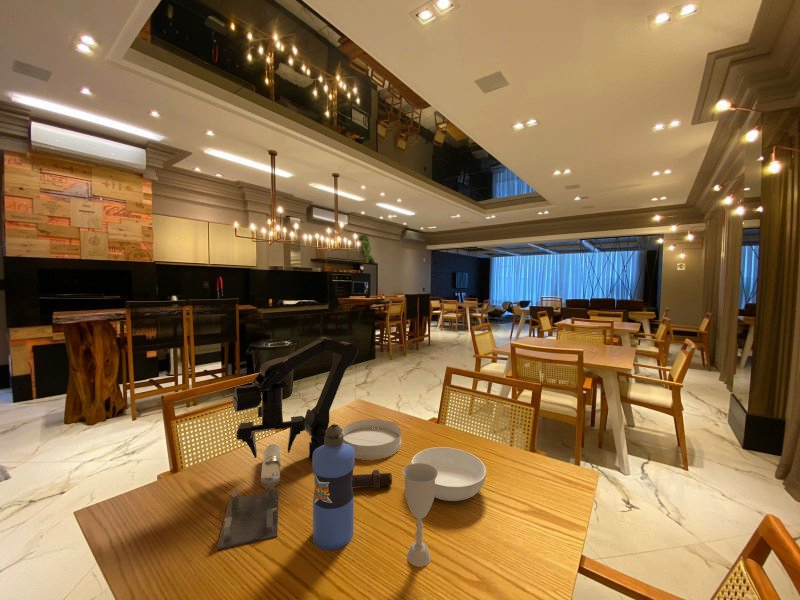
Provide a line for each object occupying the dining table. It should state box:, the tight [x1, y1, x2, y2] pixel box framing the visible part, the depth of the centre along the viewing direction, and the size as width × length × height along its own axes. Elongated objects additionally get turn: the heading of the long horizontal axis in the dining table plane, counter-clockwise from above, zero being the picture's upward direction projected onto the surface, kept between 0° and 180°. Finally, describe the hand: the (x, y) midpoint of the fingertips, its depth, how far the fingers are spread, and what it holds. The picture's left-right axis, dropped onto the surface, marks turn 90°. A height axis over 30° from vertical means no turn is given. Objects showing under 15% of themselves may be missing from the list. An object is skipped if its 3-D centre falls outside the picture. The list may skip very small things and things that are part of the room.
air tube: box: [260, 443, 281, 489], centre depth 98 cm, size 5×16×5 cm, turn 20°
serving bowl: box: [410, 446, 487, 502], centre depth 91 cm, size 21×21×7 cm
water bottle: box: [311, 423, 356, 551], centre depth 73 cm, size 9×9×25 cm
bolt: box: [352, 469, 393, 491], centre depth 91 cm, size 6×5×15 cm
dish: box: [341, 419, 402, 461], centre depth 116 cm, size 22×22×5 cm
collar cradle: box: [216, 483, 279, 551], centre depth 78 cm, size 12×17×4 cm
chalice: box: [402, 463, 438, 568], centre depth 67 cm, size 7×7×18 cm
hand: (272, 454), depth 98 cm, fingers open, 9 cm apart
